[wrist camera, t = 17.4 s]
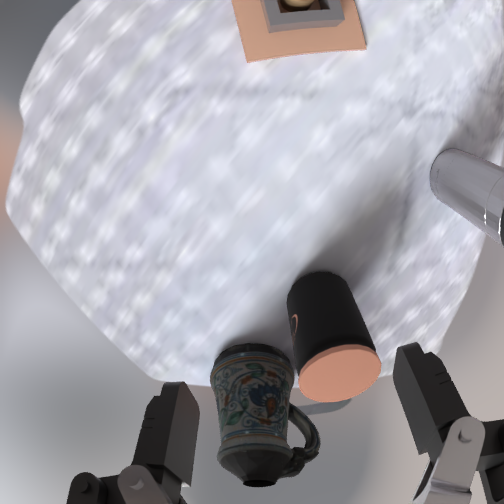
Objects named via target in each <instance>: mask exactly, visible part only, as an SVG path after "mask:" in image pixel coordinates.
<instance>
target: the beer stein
mask: <svg viewBox="0 0 504 504" xmlns="http://www.w3.org/2000/svg"><path fill="white" fill-rule="evenodd" d="M210 383H211V387H212V389H213V391H214V394H215V397H216V402H217V409H218V415H219V427H220V436H221V446H220V448H219V451H218V455H217V460H218V462H219V463H220V464H221V466H222V467H223V468H225V469H226V470H228V471H230V472H231V473H232V474H234V475H236V476H237V477H238V478H239V479H240V480H241V481H243V484H244V485H246V486H249V487H266V486H271V485H274V484H276V482H277V480H278V479H280V478H284V477H294V476H296V475H298V474H299V473H300V471H301V470H302V469H303V467H304V466H305V463H308V462H310V461H311V460H313V459H314V458H315V457H316V456H317V455H318V454H319V452H318V450H319V448H320V437H319V433H318V431H317V429H316V427H315V425H314V424H313V423H312V422H311V420H310V419H309V418H308V417H307V416H306V415H305V414H304V413H303V412H302V411H301V410H299V409H298V408H297V407H296V406H294V405H292V404H291V403H289V398H290V392H291V389H292V387H293V384H294V372H293V369H292V367H291V365H290V362H289V359H288V358H287V357H286V356H285V355H284V354H283V353H282V351H280V350H278V349H276V348H274V347H272V346H268V345H264V344H250V343H247V344H242V345H235V346H233V347H231V348H229V349H227V350H225V351H223V352H222V353H221V354H220V356H219V357H218V358H217V359H216V361H215V362H214V366H213V369H212V372H211V375H210ZM288 420H290V421H291V422H292V423H293V424H294V425H296V426H297V427H298V429H299V430H300V431H301V432H302V434H303V435H304V437H305V439H306V444H305V447H304V448H300V447H294V448H293V449H290V446H289V445H288V444H287V428H288Z"/></svg>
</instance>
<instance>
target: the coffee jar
mask: <svg viewBox="0 0 504 504" xmlns="http://www.w3.org/2000/svg"><path fill="white" fill-rule="evenodd" d="M287 308H288V315H289V321H290V328H291V335H292V341H293V348H294V355H295V362H296V369H297V373H298V376H299V378H298V383H299V387H300V391H301V392H302V393H303V394H304V395H305V396H306V397H308V398H310V399H312V400H314V401H320V402H337V401H341V400H346V399H349V398H351V397H354V396H356V395H358V394H360V393H362V392H363V391H365V390H366V389H367V388H369V387H370V386H371V385H372V384H373V383H374V382H375V381H376V380H377V378H378V376H379V374H380V372H381V361H380V359H379V357H378V355H377V353H376V349H375V346H374V344H373V341H372V339H371V336H370V334H369V332H368V329H367V327H366V325H365V322H364V320H363V318H362V315H361V313H360V311H359V309H358V306H357V304H356V302H355V300H354V297H353V295H352V293H351V291H350V289H349V287H348V285H347V283H346V281H345V280H344V279H342V278H341V277H340V276H339V275H336V274H333V273H331V272H314V273H310V274H308V275H306V276H304V277H302V278H300V279H299V280H298V281H297V282H296V283H295V284H294V285H293V287H292V288H291V290H290V292H289V294H288V298H287Z"/></svg>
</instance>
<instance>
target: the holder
mask: <svg viewBox="0 0 504 504" xmlns="http://www.w3.org/2000/svg"><path fill="white" fill-rule="evenodd" d="M232 4H233V8H234V12H235V16H236V20H237V24H238V28H239V32H240V36H241V40H242V44H243V48H244V52H245V56H246V61H247V63H250V62H256V61H261V60H267V59H273V58H280V57H287V56H294V55H303V54H312V53H322V52H336V51H355V50H366V45H365V40H364V36H363V32H362V28H361V24H360V20H359V17H358V13H357V9H356V6H355V2H354V0H315V1H314V2H313V4H312V5H311V7H310V8H309V9H308V10H307V11H298V12H289V11H287V10H285V9H284V8H283V6H282V5H281V2H280V0H232Z"/></svg>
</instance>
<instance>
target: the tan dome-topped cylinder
mask: <svg viewBox="0 0 504 504" xmlns="http://www.w3.org/2000/svg"><path fill="white" fill-rule="evenodd" d="M314 1H315V0H280V2H281V5H282V6H283V8H284V9H285V10H287V11H289V12H298V11H307V10H308V9H309V8H310V7H311V5H312V4H313V2H314Z"/></svg>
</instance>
